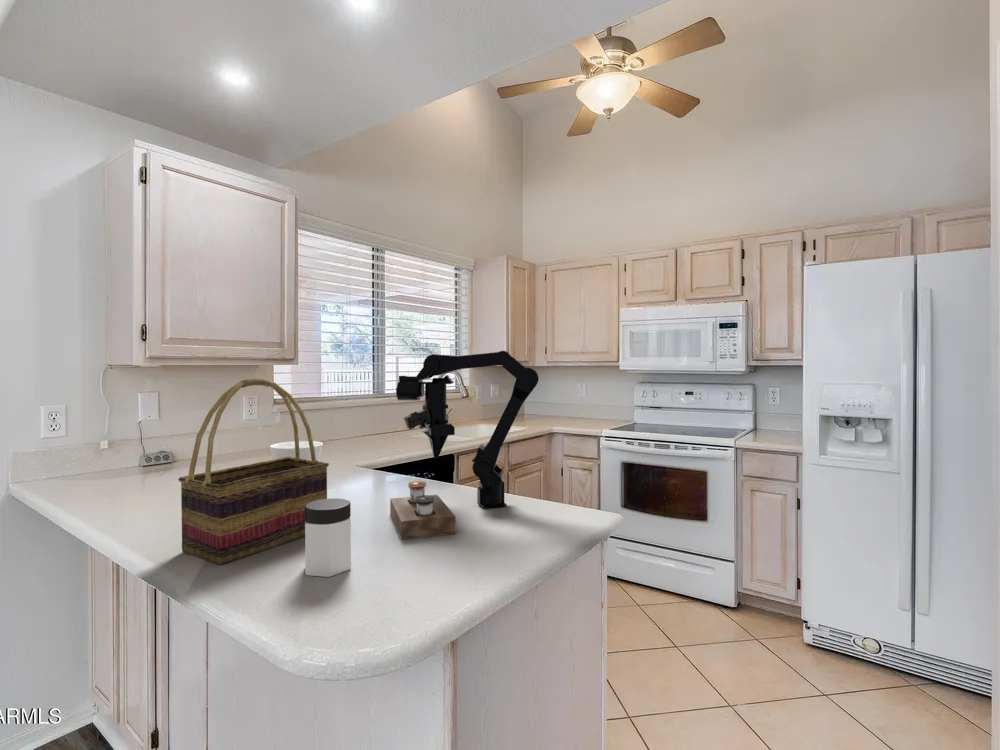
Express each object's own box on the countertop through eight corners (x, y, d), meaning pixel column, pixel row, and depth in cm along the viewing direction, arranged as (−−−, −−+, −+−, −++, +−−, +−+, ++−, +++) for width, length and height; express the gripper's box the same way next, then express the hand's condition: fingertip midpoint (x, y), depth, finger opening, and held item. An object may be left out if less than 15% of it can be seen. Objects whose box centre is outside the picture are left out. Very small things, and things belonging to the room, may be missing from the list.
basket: (218, 568, 94) (216, 380, 94) (176, 553, 102) (174, 379, 101) (331, 528, 117) (330, 377, 117) (290, 519, 125) (289, 376, 124)
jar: (337, 555, 100) (336, 495, 100) (361, 566, 95) (361, 502, 95) (294, 569, 93) (293, 505, 93) (317, 581, 88) (317, 513, 88)
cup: (258, 505, 137) (258, 446, 137) (296, 493, 150) (296, 439, 149) (297, 510, 132) (297, 449, 132) (333, 497, 145) (333, 442, 144)
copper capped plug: (424, 507, 128) (424, 480, 128) (427, 511, 124) (427, 484, 124) (407, 508, 127) (407, 481, 127) (409, 513, 123) (409, 485, 123)
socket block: (437, 509, 132) (437, 494, 132) (455, 533, 113) (455, 516, 113) (390, 514, 128) (390, 498, 128) (401, 539, 109) (401, 521, 109)
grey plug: (432, 523, 119) (432, 494, 119) (436, 529, 115) (436, 499, 115) (413, 525, 117) (413, 496, 117) (416, 531, 113) (416, 500, 113)
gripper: (401, 399, 144) (401, 454, 144) (411, 403, 126) (411, 466, 127) (439, 398, 148) (439, 451, 148) (455, 402, 130) (455, 463, 130)
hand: (435, 457), depth 138 cm, fingers closed
